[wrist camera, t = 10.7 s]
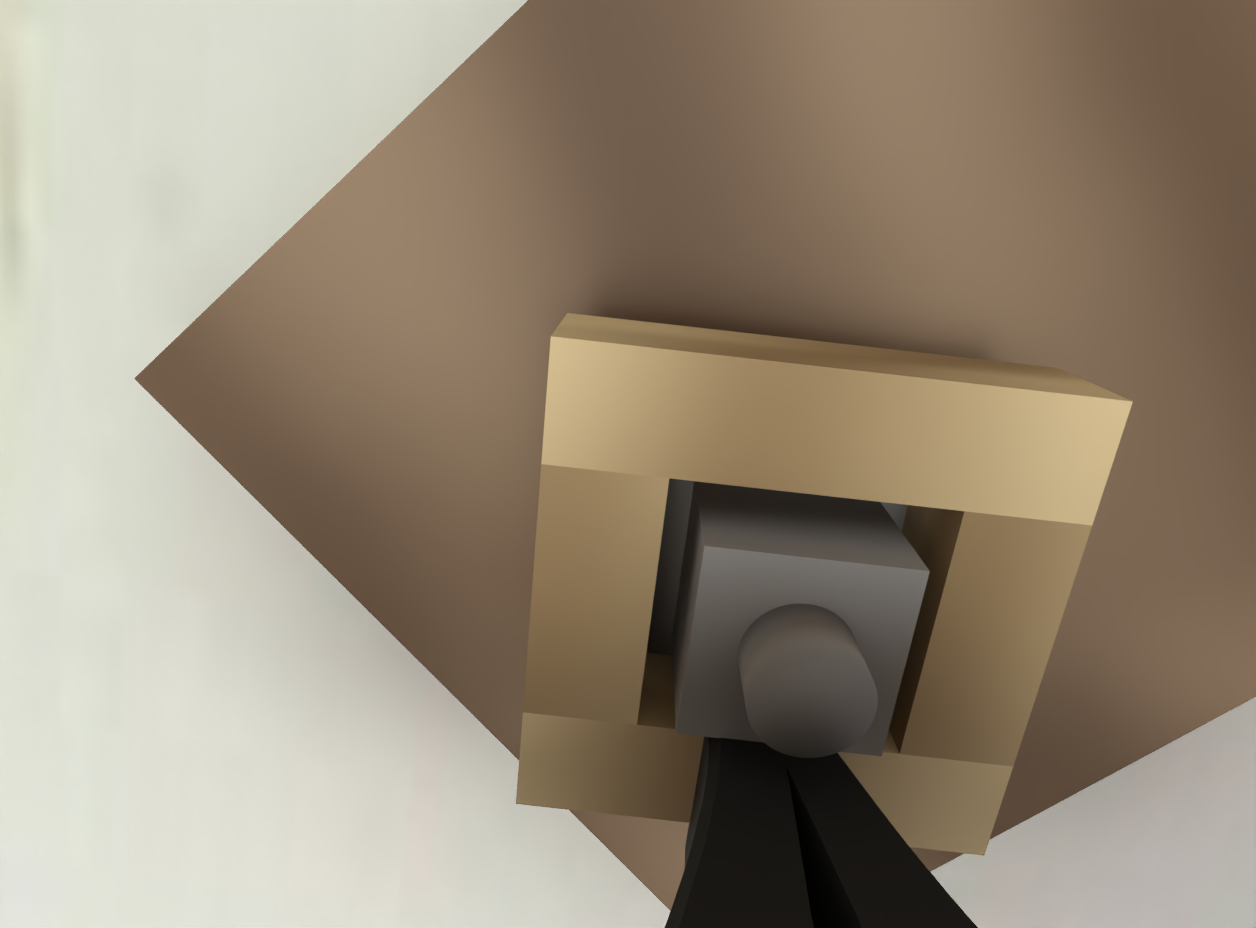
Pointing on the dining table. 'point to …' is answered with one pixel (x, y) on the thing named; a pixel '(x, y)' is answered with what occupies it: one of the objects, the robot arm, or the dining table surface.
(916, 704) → the square wooden ring
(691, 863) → the robot arm
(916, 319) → the board
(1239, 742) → the dining table surface
